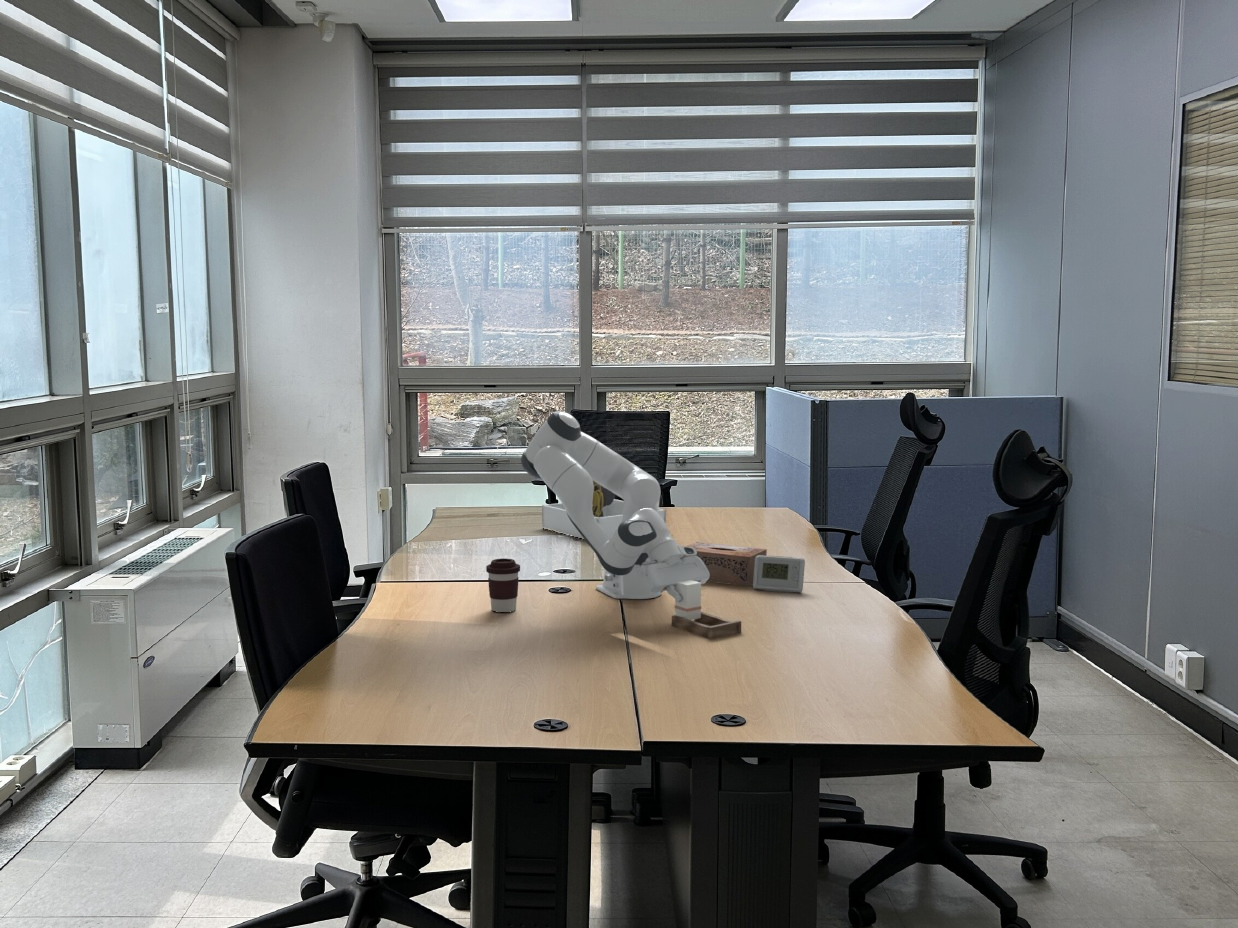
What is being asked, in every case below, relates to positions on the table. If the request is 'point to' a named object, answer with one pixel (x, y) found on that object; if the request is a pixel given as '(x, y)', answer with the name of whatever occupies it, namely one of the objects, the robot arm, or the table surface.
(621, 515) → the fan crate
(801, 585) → the digital clock
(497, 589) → the coffee cup
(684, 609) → the block
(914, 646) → the table surface
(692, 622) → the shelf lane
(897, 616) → the table surface
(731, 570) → the tissue box cover
